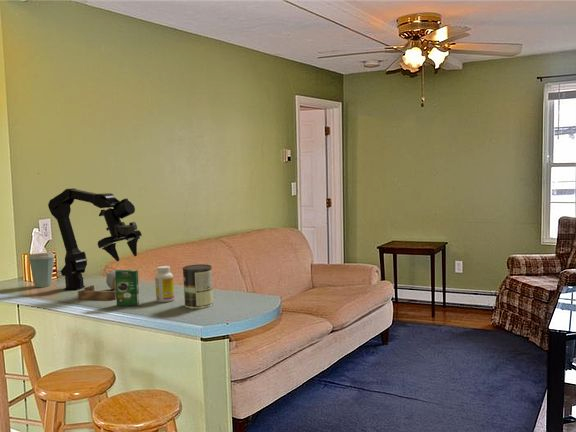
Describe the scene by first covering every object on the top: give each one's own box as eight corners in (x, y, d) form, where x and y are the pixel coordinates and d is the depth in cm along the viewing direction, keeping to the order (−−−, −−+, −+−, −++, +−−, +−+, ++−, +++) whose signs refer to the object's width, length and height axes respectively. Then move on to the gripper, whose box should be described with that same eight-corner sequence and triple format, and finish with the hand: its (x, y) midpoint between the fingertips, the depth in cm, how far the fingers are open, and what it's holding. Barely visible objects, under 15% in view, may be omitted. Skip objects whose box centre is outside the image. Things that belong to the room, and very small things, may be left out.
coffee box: (140, 304, 215) (138, 268, 214) (138, 305, 212) (135, 270, 211) (119, 304, 216) (116, 269, 214) (116, 306, 213) (114, 271, 212)
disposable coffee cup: (30, 285, 259) (27, 252, 258) (56, 282, 264) (53, 249, 263) (30, 289, 250) (28, 255, 249) (57, 286, 254) (55, 252, 253)
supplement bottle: (177, 299, 221) (176, 265, 220) (168, 303, 215) (166, 268, 214) (162, 298, 223) (160, 265, 222) (153, 302, 217) (151, 268, 216)
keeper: (75, 298, 228) (75, 291, 228) (91, 292, 239) (91, 285, 239) (117, 299, 224) (117, 292, 223) (132, 293, 234) (132, 285, 234)
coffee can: (181, 309, 204) (179, 269, 203) (187, 302, 215) (185, 264, 213) (211, 308, 204) (209, 268, 203) (215, 301, 214) (213, 263, 213)
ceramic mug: (113, 292, 237) (112, 274, 236) (106, 289, 244) (105, 271, 243) (137, 289, 243) (137, 271, 243) (130, 286, 250) (129, 268, 249)
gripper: (107, 219, 225) (121, 257, 224) (143, 212, 240) (156, 247, 239) (90, 229, 231) (104, 265, 230) (126, 221, 246) (139, 256, 245)
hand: (127, 258), depth 236 cm, fingers open, 9 cm apart
